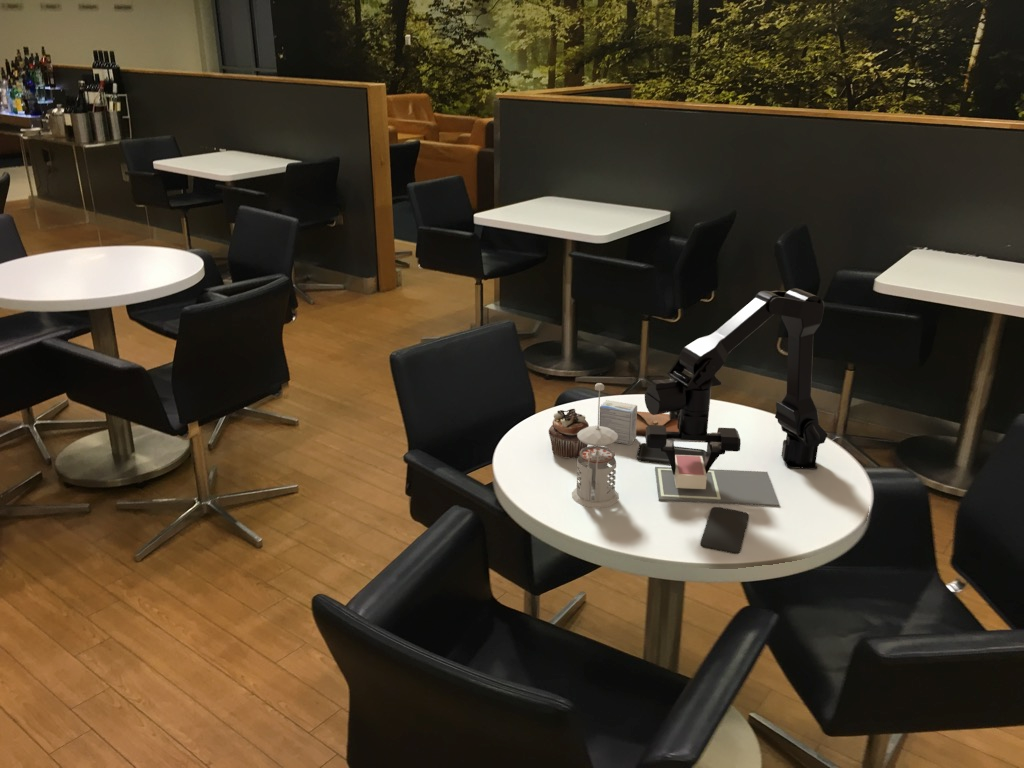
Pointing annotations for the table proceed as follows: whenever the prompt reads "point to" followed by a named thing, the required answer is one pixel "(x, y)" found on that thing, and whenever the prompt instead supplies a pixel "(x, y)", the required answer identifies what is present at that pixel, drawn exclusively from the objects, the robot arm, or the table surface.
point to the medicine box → (619, 420)
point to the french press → (596, 466)
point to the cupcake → (567, 433)
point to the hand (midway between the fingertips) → (689, 474)
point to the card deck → (690, 472)
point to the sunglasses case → (654, 422)
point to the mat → (720, 488)
